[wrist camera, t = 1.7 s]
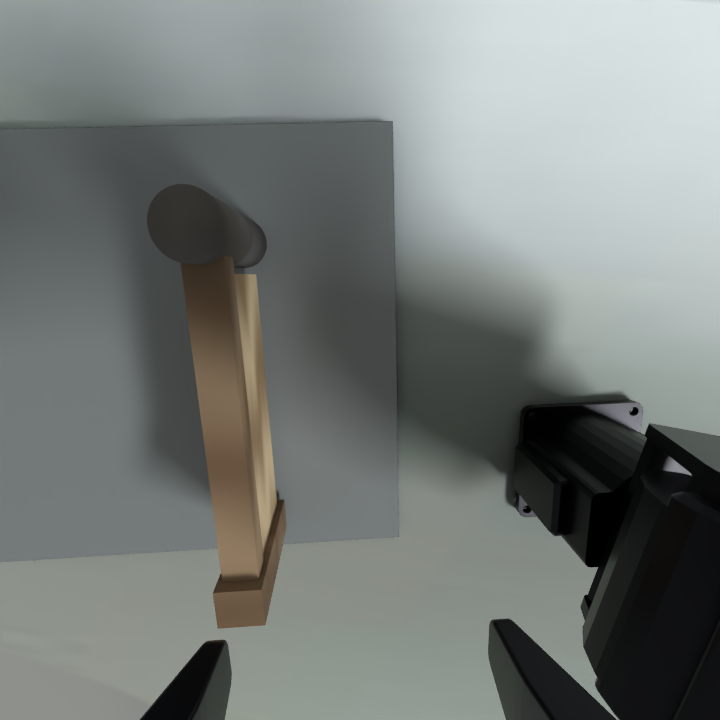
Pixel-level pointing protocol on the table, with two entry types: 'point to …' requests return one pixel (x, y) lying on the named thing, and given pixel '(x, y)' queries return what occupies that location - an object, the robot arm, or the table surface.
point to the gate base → (172, 337)
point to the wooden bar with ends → (228, 390)
